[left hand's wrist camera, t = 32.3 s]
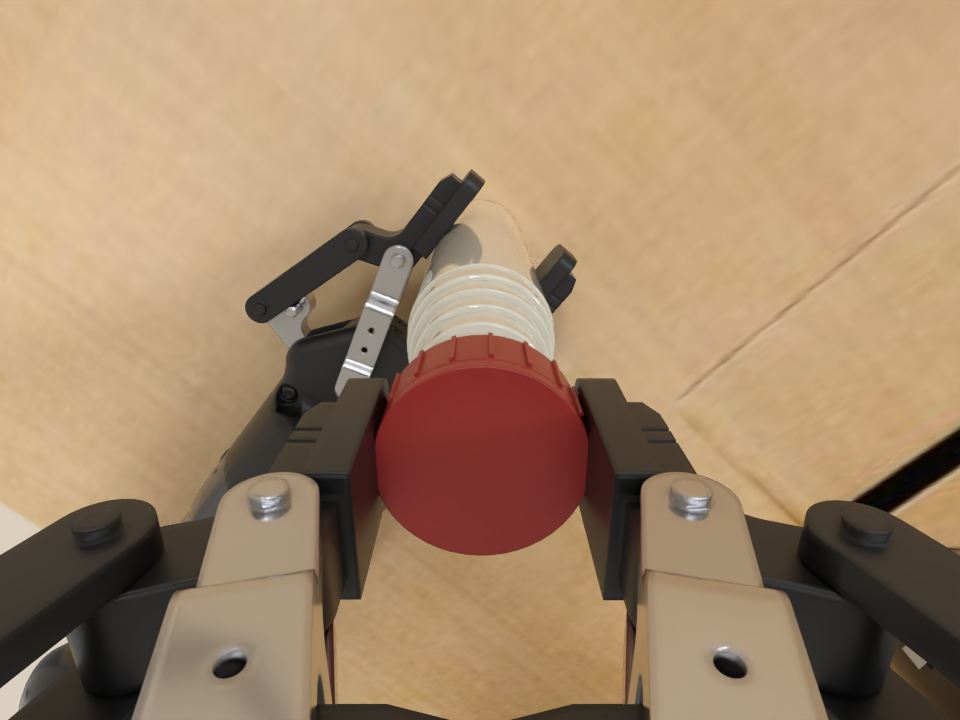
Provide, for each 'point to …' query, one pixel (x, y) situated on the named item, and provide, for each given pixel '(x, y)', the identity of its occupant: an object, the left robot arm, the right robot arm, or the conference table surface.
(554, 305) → the right robot arm
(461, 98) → the conference table surface
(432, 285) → the bottle
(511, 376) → the cap
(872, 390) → the conference table surface
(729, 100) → the conference table surface
